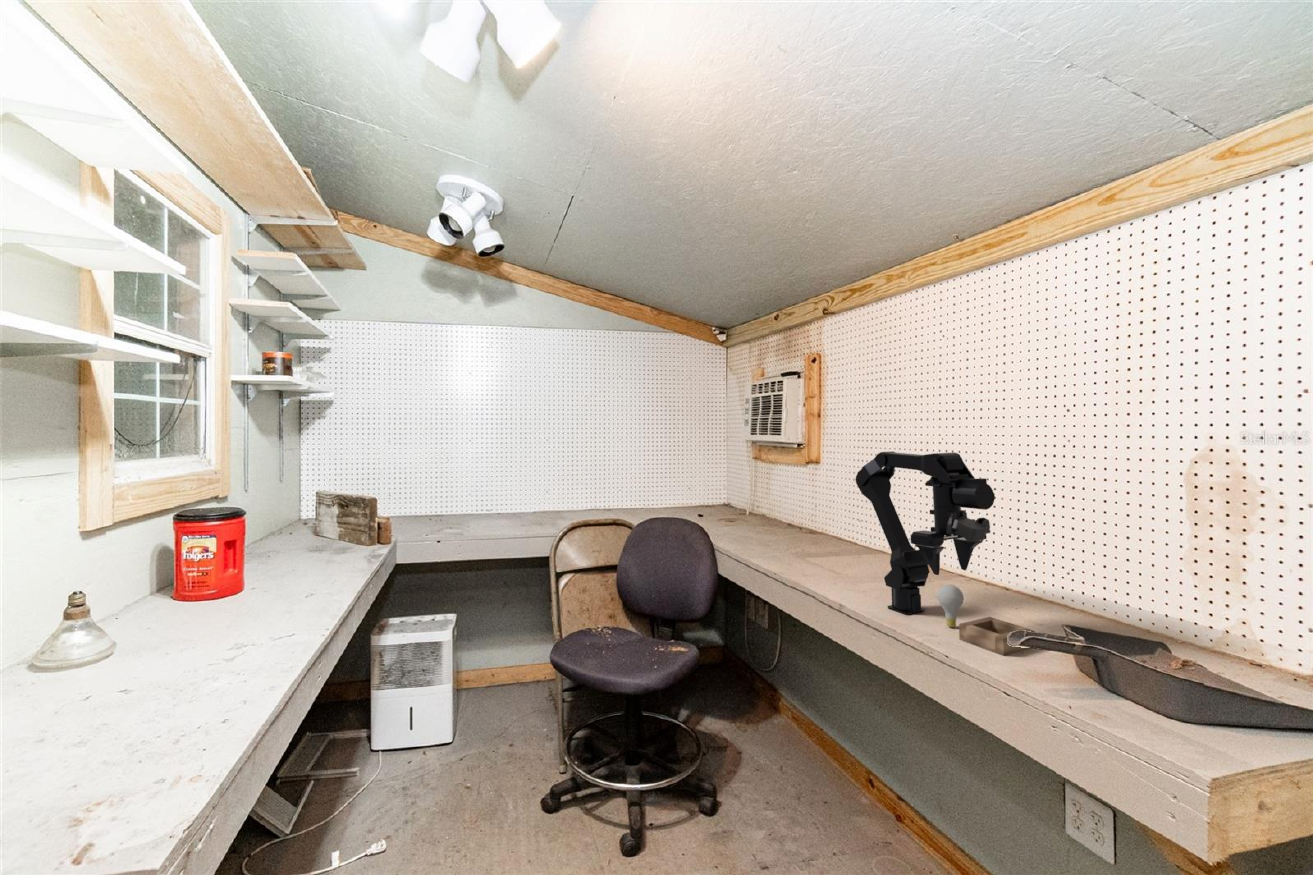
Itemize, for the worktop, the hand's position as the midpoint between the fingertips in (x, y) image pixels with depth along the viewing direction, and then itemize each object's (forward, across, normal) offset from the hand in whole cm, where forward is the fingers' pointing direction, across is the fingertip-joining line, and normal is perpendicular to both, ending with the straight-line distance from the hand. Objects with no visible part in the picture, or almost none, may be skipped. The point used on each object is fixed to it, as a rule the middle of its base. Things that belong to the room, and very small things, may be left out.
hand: (950, 572), depth 129 cm
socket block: (+13, 0, -10) cm, 17 cm away
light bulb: (+13, 0, +1) cm, 13 cm away
